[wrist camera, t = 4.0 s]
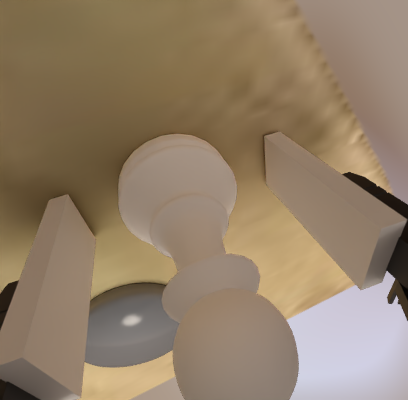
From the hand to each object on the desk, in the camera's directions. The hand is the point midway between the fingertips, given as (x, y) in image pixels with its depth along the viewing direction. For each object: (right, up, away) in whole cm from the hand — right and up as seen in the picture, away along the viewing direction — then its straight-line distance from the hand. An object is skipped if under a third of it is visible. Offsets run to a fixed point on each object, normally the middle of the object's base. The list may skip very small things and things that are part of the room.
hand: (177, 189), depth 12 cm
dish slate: (-3, -8, +5) cm, 10 cm away
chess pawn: (0, 0, 0) cm, 0 cm away
